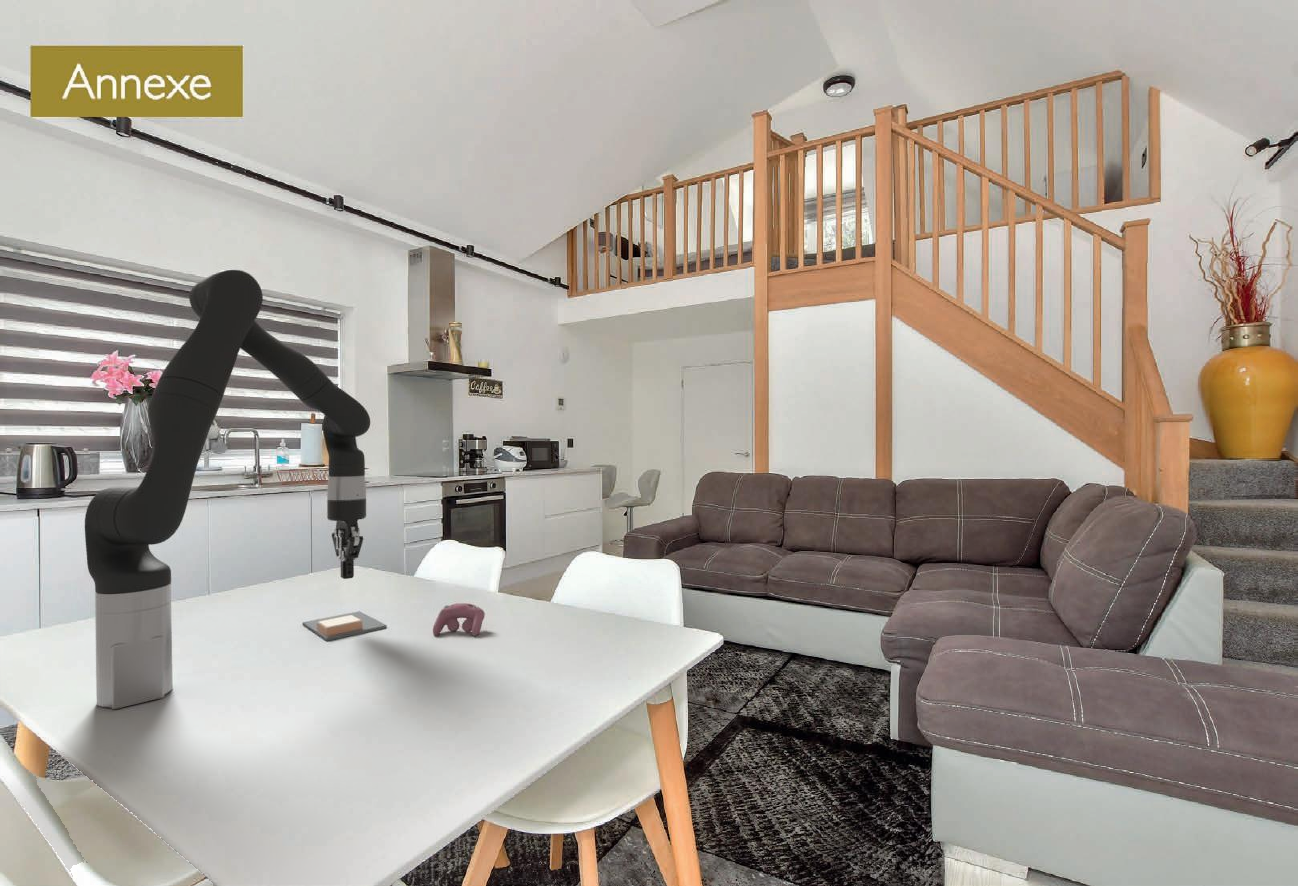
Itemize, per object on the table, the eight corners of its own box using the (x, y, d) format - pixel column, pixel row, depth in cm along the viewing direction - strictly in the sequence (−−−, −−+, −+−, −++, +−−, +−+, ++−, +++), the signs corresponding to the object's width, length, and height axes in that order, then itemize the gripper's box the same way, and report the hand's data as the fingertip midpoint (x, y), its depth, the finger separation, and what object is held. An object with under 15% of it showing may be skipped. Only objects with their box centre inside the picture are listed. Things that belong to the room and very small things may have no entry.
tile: (362, 628, 129) (326, 636, 124) (352, 623, 133) (317, 630, 128) (362, 620, 129) (326, 627, 124) (351, 614, 133) (316, 621, 128)
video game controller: (483, 639, 128) (488, 605, 131) (476, 635, 124) (481, 600, 127) (438, 638, 128) (444, 605, 132) (429, 634, 124) (435, 600, 128)
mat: (386, 627, 131) (386, 625, 131) (326, 641, 123) (326, 638, 123) (359, 613, 142) (359, 611, 142) (302, 625, 134) (302, 622, 134)
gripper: (376, 497, 129) (376, 579, 129) (354, 495, 138) (354, 571, 138) (338, 499, 124) (338, 585, 123) (318, 497, 133) (318, 576, 133)
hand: (347, 577), depth 131 cm, fingers closed
